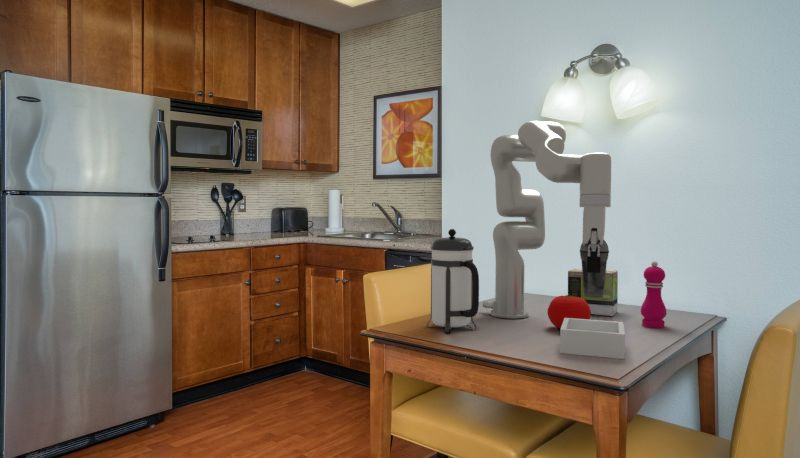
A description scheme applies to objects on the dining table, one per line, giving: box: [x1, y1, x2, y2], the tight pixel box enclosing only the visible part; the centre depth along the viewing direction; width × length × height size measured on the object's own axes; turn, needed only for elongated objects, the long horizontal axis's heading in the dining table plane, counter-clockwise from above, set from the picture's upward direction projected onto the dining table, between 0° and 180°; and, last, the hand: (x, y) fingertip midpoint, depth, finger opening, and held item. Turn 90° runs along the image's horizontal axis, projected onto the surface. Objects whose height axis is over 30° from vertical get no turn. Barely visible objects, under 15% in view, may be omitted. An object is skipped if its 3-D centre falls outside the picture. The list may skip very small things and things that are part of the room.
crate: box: [559, 318, 626, 360], centre depth 140 cm, size 15×15×6 cm
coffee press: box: [426, 228, 480, 334], centre depth 161 cm, size 17×16×30 cm
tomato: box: [547, 293, 592, 329], centre depth 162 cm, size 11×12×10 cm
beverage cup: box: [579, 239, 610, 298], centre depth 139 cm, size 7×7×20 cm
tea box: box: [567, 268, 619, 317], centre depth 188 cm, size 15×10×15 cm
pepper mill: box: [640, 261, 668, 329], centre depth 166 cm, size 7×7×20 cm
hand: (593, 270), depth 139 cm, fingers closed on beverage cup, 6 cm apart
